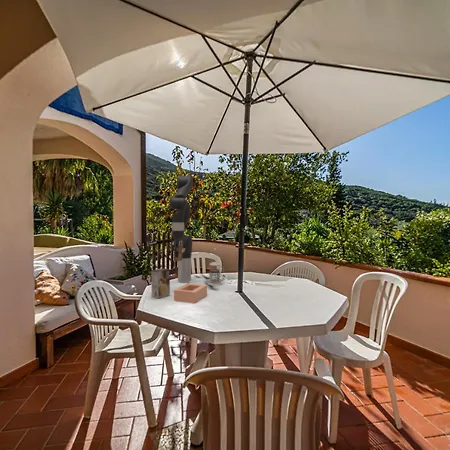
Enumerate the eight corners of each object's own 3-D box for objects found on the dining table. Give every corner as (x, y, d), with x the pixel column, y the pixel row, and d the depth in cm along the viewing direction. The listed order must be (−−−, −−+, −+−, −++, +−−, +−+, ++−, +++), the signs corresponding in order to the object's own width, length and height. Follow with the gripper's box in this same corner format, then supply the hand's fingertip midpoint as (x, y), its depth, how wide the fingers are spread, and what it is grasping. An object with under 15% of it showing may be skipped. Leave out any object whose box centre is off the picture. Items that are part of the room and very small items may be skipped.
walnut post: (176, 259, 203) (176, 244, 202) (182, 260, 201) (182, 244, 201) (173, 260, 199) (173, 244, 198) (179, 261, 198) (179, 245, 197)
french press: (205, 282, 226) (206, 247, 224) (220, 281, 231) (221, 247, 229) (210, 285, 217) (211, 249, 216) (226, 284, 222) (226, 248, 220)
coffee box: (162, 293, 195) (163, 267, 194) (170, 295, 191) (170, 269, 190) (151, 296, 188) (151, 270, 187) (158, 298, 184) (158, 271, 183)
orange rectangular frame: (187, 292, 198) (187, 283, 197) (206, 295, 194) (207, 285, 193) (173, 300, 181) (173, 290, 180) (194, 303, 177) (194, 292, 176)
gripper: (178, 228, 207) (177, 254, 208) (167, 230, 194) (167, 258, 195) (188, 229, 205) (188, 255, 206) (178, 230, 191) (178, 258, 192)
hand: (178, 256), depth 200 cm, fingers closed on walnut post, 4 cm apart
